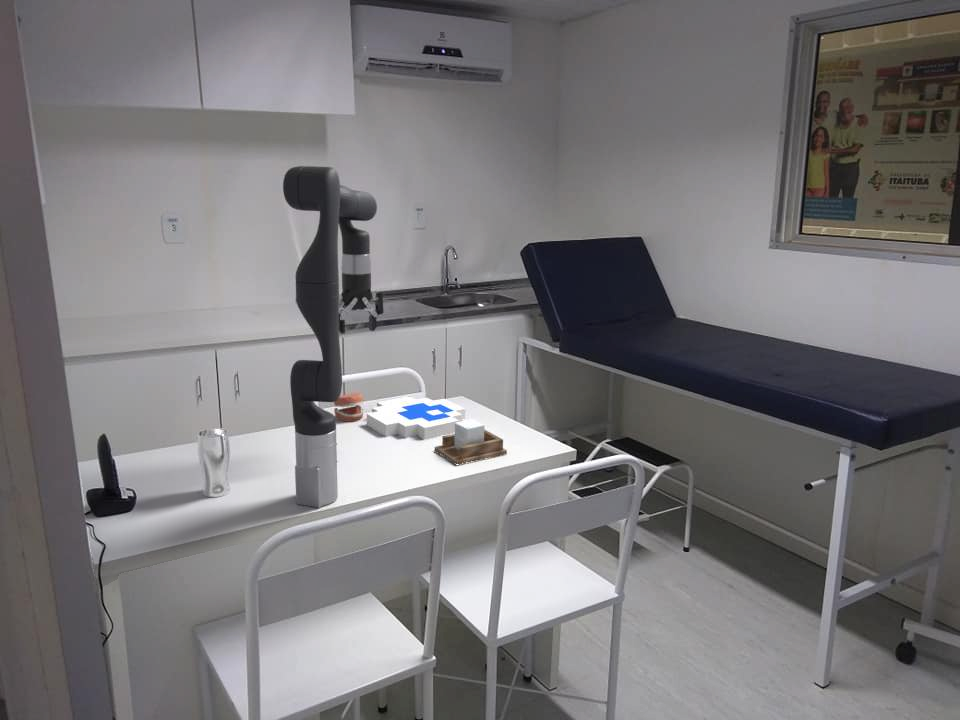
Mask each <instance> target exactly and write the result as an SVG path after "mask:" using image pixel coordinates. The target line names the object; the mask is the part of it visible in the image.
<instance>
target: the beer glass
mask: <svg viewBox="0 0 960 720" xmlns="http://www.w3.org/2000/svg"><path fill="white" fill-rule="evenodd" d="M229 441H230V440H229V434H228V429H226V428H223V427H208V428H204V429H201V430H199V431H198V432H197V453H198V454H197V456H198V461H199V464H200V468H201V472H202V474H203V475H202V477H203V489H202V494H203V495H204V496H205V497H208V498H218V497H223V496H226V495H228V494H229V493H230V491H231V486H230V484H229V480H228V479H229V478H228V471H229V462H230V454H231V453H230V451H231V450H230V442H229Z"/></svg>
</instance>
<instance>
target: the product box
mask: <svg viewBox="0 0 960 720" xmlns="http://www.w3.org/2000/svg"><path fill="white" fill-rule="evenodd" d="M484 429H485V424H482V423H481V422H479V421H477V420H474V419H473V418H470V419H465V420H462V421H461V422H457V423H455V433H454V434H455V436H454V448H456V449H458V450H460V447H462V446H467V445H471V444H476V443H481V442H484Z"/></svg>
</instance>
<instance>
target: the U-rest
mask: <svg viewBox="0 0 960 720" xmlns="http://www.w3.org/2000/svg"><path fill="white" fill-rule="evenodd" d="M454 436H455V433H452V434H448V435H444V436H441V437H442V440H441V441H442V442H441V443H442V445H436V446H434V452H436V453H437V452H438V454H439V455H440V454H441V455H440V456H442V455H443V456H444V457H443V456H442V457H443V458H445V457H446V458H448V459H449V460H451V461H453V462H454V463H456V464H462V463H466V462H471V461H475V462H477V461H476V460H480V459H484V460H486V459H485V458H489V457H493V458H496V457H495V456H497V457H501V456H500V455H502V456H505V455H504V454H506V455H508V451H507V449H505V448H504V439H503V438H501V437H500V436H497V435H495V434H494V433H492V432H491V431H488V430H486V429H485V428H484V442H481V443H476V444H471V445H467V446H462V447H460V450H458V449H456V448H454ZM446 458H445V459H446ZM448 459H447V460H448ZM489 459H490V458H489ZM449 460H448V461H449ZM451 461H450V462H451ZM480 461H481V460H480ZM454 463H453V464H454ZM471 463H472V462H471ZM456 464H455V465H456ZM462 465H463V464H462Z"/></svg>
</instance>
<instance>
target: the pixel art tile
mask: <svg viewBox="0 0 960 720" xmlns="http://www.w3.org/2000/svg"><path fill="white" fill-rule="evenodd" d="M462 419H465V420H466V408H464V407H462V406H461V405H458V404H457V403H453V402H452V401H450V400H447V399H445V398H441V399H434V400H432V399H430V398H428V397H423V398H417V399H416V398H414V397H412V396H404V397H398V398H393V399H387V400H382V401H378V402H376V406H375V407H372V408H371V412H368V413H366V426H368V427H369V426H370V427H369V428H371V429H373V430H374V431H376V432H378V433H380V434H381V435H383V436H384V435H385V437H386V438H388V437H392V435H393V436H396V434H397V435H399V436H400V437H402V436H403V437H402V438H404V437H405V438H404V439H408V437H409V438H412V437H413V436H414V437H419V438H421V439H422V438H423V440H424V439H426V440H429V439H434V438H433V437H435V438H438V437H437V436H439V437H442V436H441V435H444V436H446V434H448V435H451V434H450V433H452V434H455V433H454V432H455V423H457V422H461V421H463V420H462ZM416 435H418V436H416Z"/></svg>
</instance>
